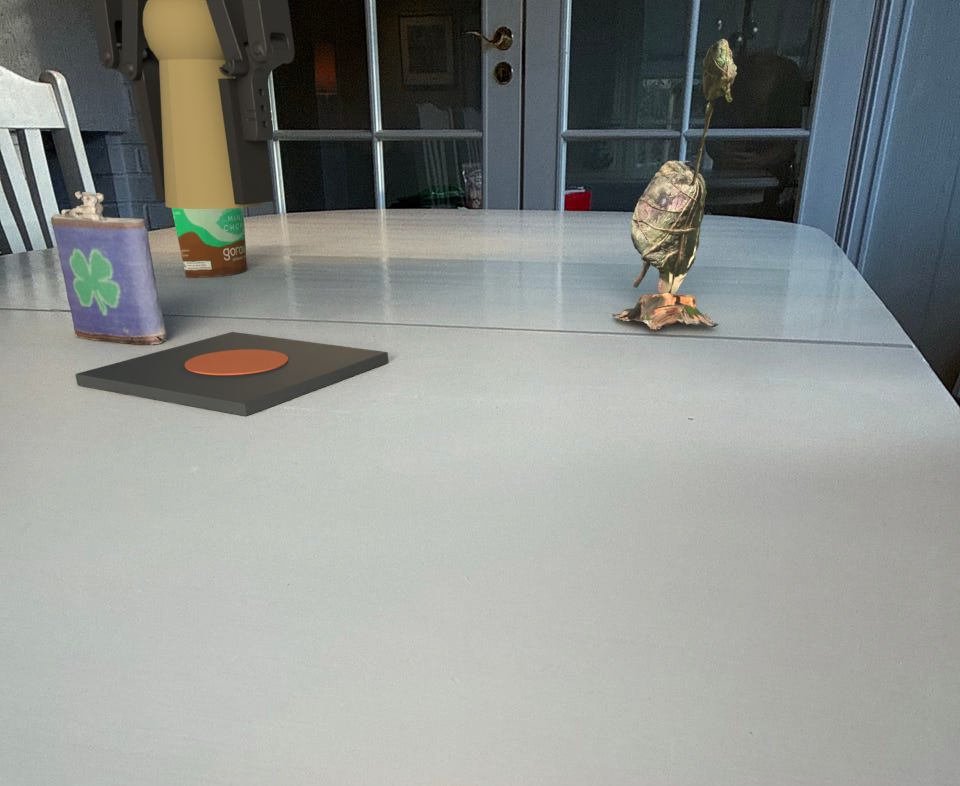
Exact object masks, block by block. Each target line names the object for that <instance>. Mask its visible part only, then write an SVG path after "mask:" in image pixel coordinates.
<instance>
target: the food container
mask: <svg viewBox="0 0 960 786" xmlns="http://www.w3.org/2000/svg"><path fill="white" fill-rule="evenodd" d="M171 213H172V219H173V222H174V227H175V231H176V236H177V242H178V246H179V250H180V255H181V260H182V264H183V265H182V266H183V269H184V274H185V275H184V276H185V278H211V277H223V276H231V275H236V274H240V273H245V272H246V271H247V270H248V261H247V246H246V231H245V230H246V227H245V213H244V207H241V208H226V209H177V208H171Z"/></svg>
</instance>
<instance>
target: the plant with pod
mask: <svg viewBox="0 0 960 786" xmlns="http://www.w3.org/2000/svg"><path fill="white" fill-rule="evenodd" d="M733 56H734V55H733V51H732V50H731V48H730V46H729V41H728V40H726V39H725V38H722V39H719V40H718V41H716V42H715V43H714V44H712V45H711V46H710V47H709V48H708V50H707V52H706V55H705V57H704V59H703V60H702V65H701V66H702V67H703V68H702V92H703V96H704V98H705V100H706V101H708V103H707V104H706V109H705V114H704V115H705V116H704V117H705V120H704V122H705V123H704V127H703V132H702V136H701V139H700V143H699V146H698V150H697V155H696V161H695V165H694V170H693V169H692V168H691V167H690V166H689V165H686V163H690V162H691V160H684V161H682V160H668V161H667V162H665V163H664V164H663V165H662V166H661V167H660V169H658V172H656V173H655V174H654V176H653V177H652V178H651V179H650V181H649V183H648V185H647V186H646V188H645V189H644V191H643V193H642V195H641V196H640V197H639V198H638V200H637V203H636V206H635V207H634V211H633V215H632V217H631V220H630V221H631V222H630V239H631V241H632V244H633V247H634V250H636V251H637V253H638V254H640V255H641V257H640V259H641V260H642V261H643V262H642V270H641V272H640V274H638V275H637V277H636V278H635V279H634V280H633V284H632V287H633V288H638V287H639V286H640V284H641V283H642V281H643V280H644V278H645V277H646V276H647V273H648V271H649V269H650V267H654V268H655V269H657V270H658V273H659V274H658V283H657V284H658V286H657V291H658V293H647V294H643V295H641V296H640V297H639V299H638V301H637V303H636V305H635V306H634V307H632V308H626V309H623V311H622V312H621V313H617V314H615V313H612V316H611V317H615V319H616V320H620V321H621V320H622V321H623V322H625V321H627V322H630V321H633V320H634V321H636V322H642V323H644V324H646V325H647V326H648V327H649V329H651V330H659V329H663V327H668V326H670V325H672V324H675V323H678V322H679V323H681V324H684V323H685V324H686V325H690V324H691V325H693V326H697V325H698V326H701V325H703V326H706V327H708V328H715V327H716V328H717V326H719V325H720V323H716V322H715V323H713V322H714V320H712V318H711V316H709V315H707V313H705V314H704V313H703V312H701V311H699V309H698V307H697V299H696V297H695V296H693V295H691V294H681V293H678V291H679V288H680V287H681V285H682V283H683V282H684V280H685V278H686V277H687V275H688V273H689V271H690V270H691V268H692V266H693V265H694V263H695V260H696V253H697V250H698V249H699V248H700V235H701V234H700V233H701V226H702V223H703V219H704V215H705V214H704V213H705V207H706V202H705V201H706V196H707V194H708V192H707V182H706V181H705V180H704V177H703V175H702V174H701V173H699V171H700V170H699V169H700V163H701V160H702V155H703V148H704V146H705V140H706V139H705V138H706V137H707V133H708V130H709V126H710V122H711V118H712V115H713V112H714V107H715V101H716V100H718V99H719V98H721V97H723V96H724V97H725V99H726V101H727V102H728V103H731V102H732V101H733V97H732V94H731V87H732V86H733V84H734V82H735V78H736V76H737V74H738V72H737V69H738V67H737V65H736V64H735V61H734V60H733Z"/></svg>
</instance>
